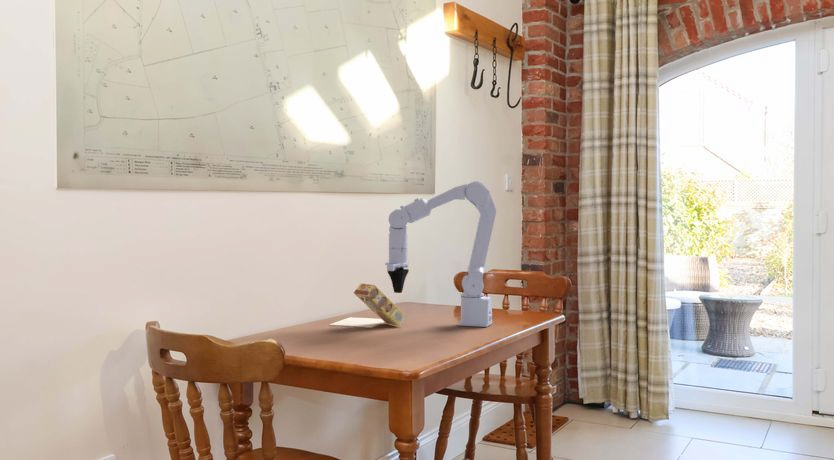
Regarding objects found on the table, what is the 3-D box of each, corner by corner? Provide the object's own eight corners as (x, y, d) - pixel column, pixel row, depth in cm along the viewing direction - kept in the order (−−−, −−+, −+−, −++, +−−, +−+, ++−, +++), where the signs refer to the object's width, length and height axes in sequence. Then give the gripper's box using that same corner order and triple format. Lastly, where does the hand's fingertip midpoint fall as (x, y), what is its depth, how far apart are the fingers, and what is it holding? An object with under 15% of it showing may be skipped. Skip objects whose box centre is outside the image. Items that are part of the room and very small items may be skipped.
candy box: (407, 316, 237) (375, 284, 231) (399, 327, 235) (366, 295, 229) (392, 313, 244) (360, 282, 238) (384, 324, 243) (352, 293, 237)
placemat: (390, 320, 250) (390, 319, 250) (371, 327, 234) (371, 326, 234) (349, 318, 254) (349, 317, 254) (329, 325, 239) (329, 324, 239)
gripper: (393, 247, 248) (393, 289, 248) (377, 249, 234) (377, 294, 234) (414, 247, 245) (414, 290, 246) (399, 250, 232) (399, 295, 232)
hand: (398, 292), depth 240 cm, fingers closed
